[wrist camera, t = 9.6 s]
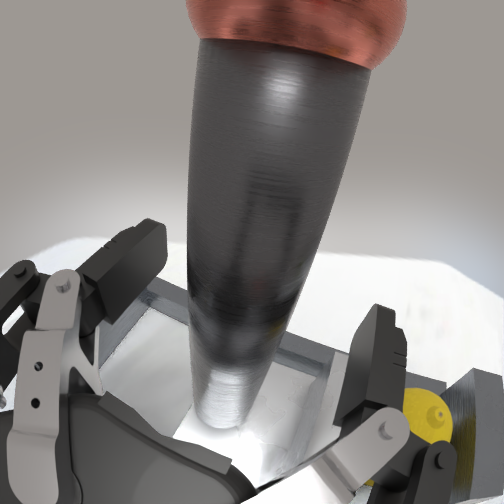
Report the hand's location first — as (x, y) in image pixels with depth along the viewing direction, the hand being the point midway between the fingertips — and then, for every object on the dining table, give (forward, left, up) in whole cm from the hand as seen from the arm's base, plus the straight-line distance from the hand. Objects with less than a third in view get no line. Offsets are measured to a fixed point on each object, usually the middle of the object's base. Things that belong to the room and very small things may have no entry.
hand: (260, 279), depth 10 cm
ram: (-2, +2, -10) cm, 11 cm away
